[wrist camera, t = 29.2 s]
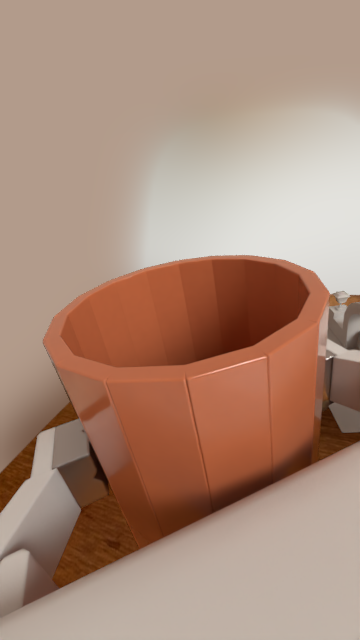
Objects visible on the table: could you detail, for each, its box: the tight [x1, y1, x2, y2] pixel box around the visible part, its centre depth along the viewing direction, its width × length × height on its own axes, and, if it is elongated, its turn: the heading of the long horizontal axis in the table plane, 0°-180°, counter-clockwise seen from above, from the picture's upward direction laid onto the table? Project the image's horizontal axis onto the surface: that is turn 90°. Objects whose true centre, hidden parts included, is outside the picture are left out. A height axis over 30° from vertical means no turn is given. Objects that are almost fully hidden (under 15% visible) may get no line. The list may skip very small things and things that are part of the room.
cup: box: [43, 255, 330, 549], centre depth 9 cm, size 7×7×9 cm
